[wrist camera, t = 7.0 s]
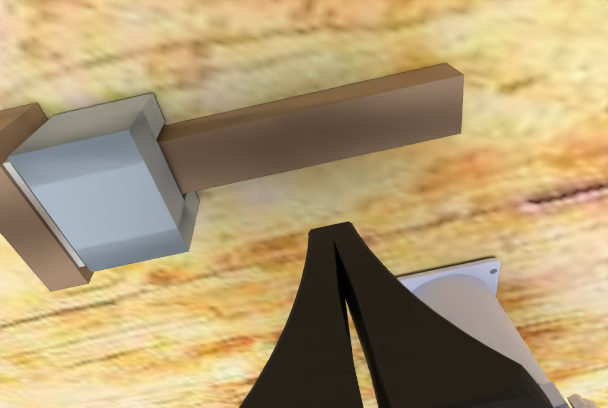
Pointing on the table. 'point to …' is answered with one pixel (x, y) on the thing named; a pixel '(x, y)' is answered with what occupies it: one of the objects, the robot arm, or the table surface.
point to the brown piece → (242, 149)
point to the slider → (109, 183)
